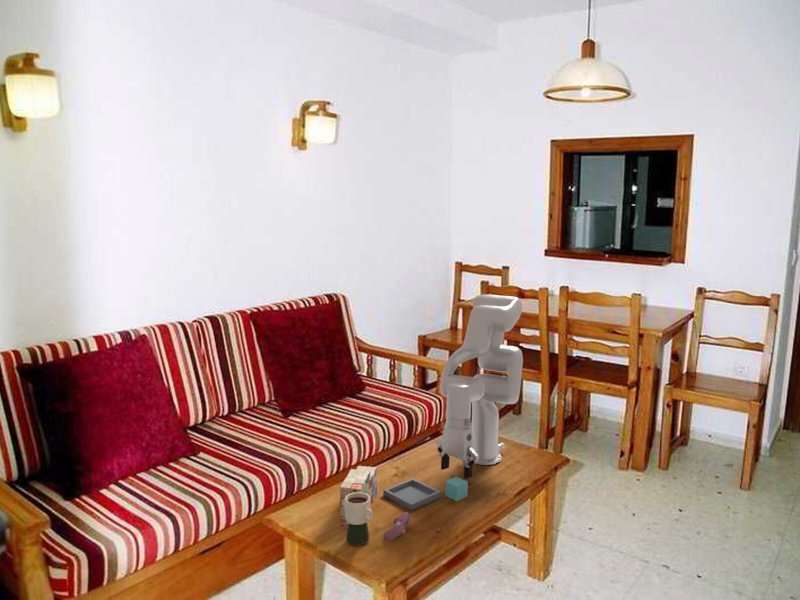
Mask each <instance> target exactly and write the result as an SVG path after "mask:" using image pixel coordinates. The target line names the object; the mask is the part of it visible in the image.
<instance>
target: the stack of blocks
mask: <svg viewBox="0 0 800 600" xmlns="http://www.w3.org/2000/svg"><path fill="white" fill-rule="evenodd" d="M377 484H378V476H377V466H376V467H375V466H364V465H363V466H361V465H357V466H356V469H354V468H350V470H349V472H348V474H347V475H346V477H345V478H344V480H343V482H342V483H341V485H340V487H339V488H340V489H339V494H340V495H339V496H340V497H339V505H340V507H339V508H340V513H339V514H340V516H339V517H340V518H339V519H340V522H339V523H340V526H343V525H346V527H348V524H349V523H348V522H346V520H345V509H344V508H343V500H344V498H345V497H346V496H347V495H348V494H351V493H356V492H361V493H366V494H368V495H369V496H370V503H371V505H372V504H373V503H374V501H375V498H376V496H377V495H378V494H377V493H378V491H377V489H378V485H377ZM372 502H373V503H372Z"/></svg>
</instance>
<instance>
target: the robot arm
mask: <svg viewBox="0 0 800 600" xmlns="http://www.w3.org/2000/svg"><path fill="white" fill-rule="evenodd" d="M472 307H473V308H472V309H471V311H470V314H469V319H468V322H467V323H468V324H467V327H466V332H465V335H464V336H465V337H464V339H463V344H462V345H461V346H460V347H459V348H458V349H456V350H455V351H454V352H453V353H452V354H451V355H450V356H449V358H448V359H447V360H446V362H445V364H444V367H443V371H442V374H441V377H440V384H439V385H440V386H439V388H440V389H439V390H440V393H441V395H442V396H444V397H446V411H445V412H446V414H445V417H446V418H445V423H444V427H443V431H442V437H441V438H442V439H438V440H436V442H435V443H436V447H437V451H438V453H439V457H440V458H441V461H440V462H441V463H440V470H442V471H444V470H446V469H449V468H450V457H453V458H456V459H458V460H461V461H462V462H463V464H464V467H463V480H465V481H467V480H468V479H471V478H472V476H473V467H474V466H475V465H476V464H477V465H481V466H492V465H496V463H497V464H498V462H499V463H500V462H501V461H502V455H501V453H500V450H502V449H504V448H505V447H506V444H505V443H504V442H500V443H498V442H499V417H500V416H499V409H498V407H497V405H496V404H495V403H497V404H504V405H515V404H516V403H517V402H518V401H519V398H520V394H521V385H522V375H523V366H524V365H523V363H524V357H523V352H522V350H521V349H520V348H519V347H518V346H513V345H505V344H504V340H505V333H507V332H510V331H511V330H512V329H513V328H514V326H516V324H517V322H518V321H519V319H520V317H521V316H522V312H523V303H522V300H521V299H520V298H519V297H517V296H511V295H497V294H479V295H476V296H475V297H474V298H473V302H472ZM476 358H477V364H478V366H479V368H480V369H482V370H486V371H491V372H501V373H506V374H507V376H505V375H504V376H503V375H497V374H490V373H479V374H475V375H474V376H473V377H472V376H466V375H459V374H454V373H455V372H456V369H457V368H458V367H459V366H460V365H461V364H462V363H465V362H467V361H469V360H473V359H476ZM471 408H472V409H471Z"/></svg>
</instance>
